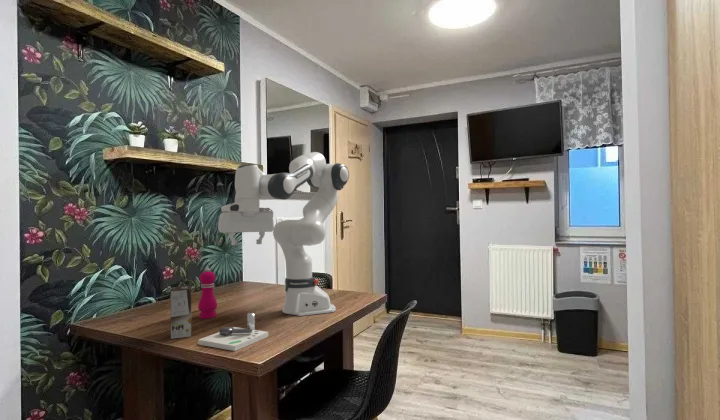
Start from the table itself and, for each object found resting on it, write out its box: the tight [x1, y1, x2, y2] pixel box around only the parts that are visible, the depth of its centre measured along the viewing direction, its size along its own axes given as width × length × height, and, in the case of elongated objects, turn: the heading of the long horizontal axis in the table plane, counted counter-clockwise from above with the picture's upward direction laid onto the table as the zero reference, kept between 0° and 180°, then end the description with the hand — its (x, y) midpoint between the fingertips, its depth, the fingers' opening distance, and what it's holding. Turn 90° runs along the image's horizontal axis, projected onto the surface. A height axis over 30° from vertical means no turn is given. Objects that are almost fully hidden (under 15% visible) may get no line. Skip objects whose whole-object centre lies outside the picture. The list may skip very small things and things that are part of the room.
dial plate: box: [197, 326, 269, 352], centre depth 126 cm, size 16×15×2 cm
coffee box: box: [170, 285, 192, 340], centre depth 134 cm, size 9×6×16 cm
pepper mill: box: [197, 267, 218, 320], centre depth 158 cm, size 7×7×20 cm
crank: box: [218, 312, 256, 335], centre depth 128 cm, size 11×4×6 cm, turn 95°
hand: (246, 244), depth 143 cm, fingers open, 8 cm apart
